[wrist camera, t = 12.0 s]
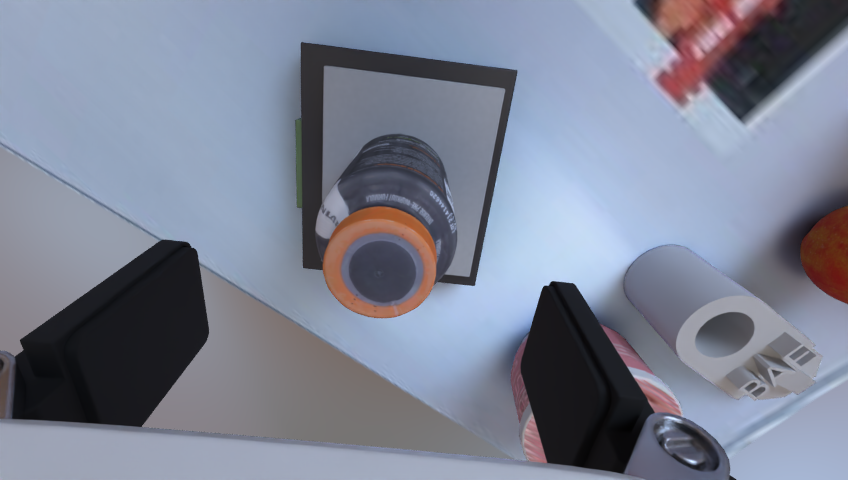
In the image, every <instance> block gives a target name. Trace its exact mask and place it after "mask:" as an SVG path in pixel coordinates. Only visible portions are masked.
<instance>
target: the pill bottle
mask: <svg viewBox="0 0 848 480" xmlns="http://www.w3.org/2000/svg"><path fill="white" fill-rule="evenodd" d="M315 237H316V244H317V248H318V252H319V255H320V257H321V259H322V261H323V274H324V277H325V281H326V284H327V286H328V288H329V290H330V291H331V293H332V294H333V295H334V297H335V298H336V299H337V300H338V301H339V302H340V303H341V304H342V305H344V306H345V307H346V308H348V309H350V310H351V311H353V312H356V313H358V314H361V315H364V316H368V317H374V318H392V317H397V316H400V315H403V314H405V313H407V312H409V311H411V310H413V309H415V308H416V307H418V306H419V305H420V304H421V303H422V302H423V301H424V300H425V299H426V298H427V296H428V295H429V293H430V292H431V290H432V287H433V286H434V285H435V284H436V283H437V282H438V281H439V280H440V279H441V278H442V277H443V275H444V274H445V273H446V271H447V270H448V268H449V267H450V265H451V263H452V260H453V258H454V255H455V251H456V247H457V226H456V220H455V214H454V205H453V200H452V196H451V193H450V188H449V185H448V179H447V174H446V171H445V168H444V165H443V162H442V161H441V159H440V157H439V156H438V154H437V153H436V152H435V151H434V150H433V149H432V148H431V147H430V146H429V145H428V144H427V143H425V142H424V141H422V140H420V139H418V138H416V137H414V136H410V135H406V134H401V133H400V134H387V135H383V136H380V137H377V138H374V139H372V140H371V141H369V142H368V143H366V144H365V145H364V146H363V147H362V148H361V149H360V150H359V151H358V153H357V154H356V155H355V157H354V158H353V160H352V161H351V162H350V164H349V165H348V167H347V168H346V169H345V171H344V172H343V173H342V175H341V176H340V178H339V179H338V180H337V182H336V183H335V185H334V186H333V188H332V189H331V191H330V192H329V194H328V195H327V197H326V198H325V200H324V202H323V203H322V205H321V208H320V210H319V213H318V217H317V221H316V228H315Z"/></svg>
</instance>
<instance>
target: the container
mask: <svg viewBox="0 0 848 480" xmlns="http://www.w3.org/2000/svg"><path fill="white" fill-rule="evenodd" d="M600 325H601V326H602V328H603V329H604V331H605V333H606V334H607V336H608V337H609V339H610V341H611V342H612V344H613V345H614V347H615V348H616V350H617V352H618V353H619V355H620V356H621V358H622V359H623V361H624V363H625V364H626V366H627V367H628V369H629V370H630V372H631V374H632V375H633V377H634V378H635V380H636V382H637V383H638V385H639V386H640V388H641V389H642V391H643V393H644V394H645V396H646V397H647V399H648V402H649V404H650V405H651V407H652V408H653V410H654V412H655V413H657V412H668V413H671V414H675V415H679V416H681V417H683V412H682V409H681V406H680V403H679V401H678V400H677V398H676V397H675V396H674V394H673V393H672V391H671V390H670V389H669V387H668V386H667V385H666V384H665V383H664V382H662V381H661V380H660V379H659V378H657V377H656V376H655V375H654V374H653V372H652V371H651V370H650V369H649V367H648V366H647V365H646V364H645V362H644V361H643V360H642V359H641V358H640V356H639V355H638V354H637V353H636V352H635V350H634V349H633V348H632V347H631V345H630V344H629V343H628V342H627V341H626V339H625V338H623V337H622V336H621V335H620V334H619V333H617V332H616V331H614V330H612V329H610V328H608V327H606V326H604V325H602V324H600ZM528 335H529V333H528V334H527V335H526V337H525V338H524V339H523V341H522V343H521V344H520V347H519V349H518V351H517V353H516V355H515V359H514V362H513V366H512V370H511V385H512V390H513V395H514V400H515V405H516V410H517V414H518V419H519V423H520V425H519V437H520V441H521V445H522V449H523V452H524V455H525V457H526V458H527V460H528V461H531V462H540V463H547V461H546V457H545V454H544V450H543V447H542V444H541V440H540V437H539V433H538V430H537V426H536V423H535V419H534V416H533V413H532V409H531V406H530V402H529V399H528V395H527V392H526V389H525V385H524V382H523V378H522V375H521V359H522V355H523V352H524V349H525V345H526V342H527V339H528Z"/></svg>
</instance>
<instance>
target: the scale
mask: <svg viewBox="0 0 848 480" xmlns="http://www.w3.org/2000/svg"><path fill="white" fill-rule="evenodd" d="M516 76H517V70H510V69H502V68H495V67H487V66H479V65H472V64H464V63H456V62H449V61H441V60H434V59H426V58H418V57H411V56H403V55H395V54H388V53H380V52H372V51H365V50H357V49H350V48H342V47H334V46H327V45H319V44H311V43H304V42H301V118H299V119H297V120H296V121H295V124H296V186H297V207H298V208H302V227H303V268H308V269H317V270H323V261H322V259H321V257H320V255H319V252H318V248H317V244H316V237H315V228H316V221H317V217H318V213H319V210H320V208H321V205H322V203H323V202H324V200H325V198H326V197H327V195H328V194H329V192H330V191H331V189H332V188H333V186H334V185H335V183H336V182H337V180H338V179H339V178H340V176H341V175H342V173H343V172H344V171H345V169H346V168H347V167H348V165H349V164H350V162H351V161H352V160H353V158H354V157H355V155H356V154H357V153H358V151H359V150H360V149H361V148H362V147H363V146H364V145H365V144H366V143H368V142H369V141H371V140H372V139H374V138H377V137H380V136H383V135H387V134H400V133H401V134H406V135H410V136H414V137H416V138H418V139H420V140H422V141H424V142H425V143H427V144H428V145H429V146H430V147H431V148H432V149H433V150H434V151H435V152H436V153H437V154H438V156H439V157H440V159H441V161H442V162H443V165H444V168H445V171H446V174H447V179H448V185H449V188H450V193H451V196H452V200H453V205H454V214H455V220H456V226H457V247H456V251H455V255H454V258H453V260H452V263H451V265H450V267H449V268H448V270H447V271H446V273H445V274H444V275H443V277H442V278H441V279H440V280H439V281H438V282H442V283H452V284H462V285H471V286H475V282H476V277H477V272H478V267H479V262H480V257H481V252H482V247H483V242H484V237H485V232H486V227H487V222H488V217H489V212H490V207H491V202H492V197H493V192H494V186H495V181H496V176H497V171H498V166H499V161H500V156H501V151H502V146H503V141H504V136H505V131H506V126H507V121H508V116H509V111H510V106H511V101H512V96H513V91H514V86H515V81H516Z"/></svg>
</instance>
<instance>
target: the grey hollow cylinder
mask: <svg viewBox="0 0 848 480" xmlns="http://www.w3.org/2000/svg"><path fill="white" fill-rule="evenodd" d="M624 290H625V293H626V296H627V297H628V299H629V300H630V301H631V302H632V304H633V305H634V306H635V307H636V308H637V309H638V311H639V312H640V313H641V314H642V315H643V316H644V318H645V319H646V320H647V321H648V322H649V323H650V325H651V326H652V327H653V328H654V329H655V330H656V331H657V333H658V334H659V335H660V336H661V337H662V338H663V340H664V341H665V342H666V343H667V344H668V345H669V347H670V348H671V349H672V350H673V351H674V352H675V354H676V355H677V356H678V357H679V358H680V359H681V360H682V362H683V363H685V364H686V365H687V366H689V367H690V368H691V369H693V370H694V371H696V372H697V373H698V374H700V375H701V376H703V377H704V378H706V379H707V380H708V381H710V382H711V383H713V384H714V385H715V386H717V387H718V388H720V389H721V390H723V391H724V392H725V393H727V394H728V395H730V396H731V397H732V398H734V399H737V400H739V399H740V398H741V397H743V396H744V395H747V396H749V397H750V398H752V399H753V400H754V401H755V400H757V399H758V400H764V399H773V398H782V397H786V396H787V395H789V394H790V393H792V392H793V393H795V394H797V395H798V394H800V393H801V392H803V391H804V390H806V389H807V388H809V387H810V386H812V385H813V384H815V383H816V382H815V381H814V380H813V378H814V377H816V374H817V371H818V368H819V366H820V363H821V360H822V357H823V356H822V355H820V354H819V353H818V352H817V351H816V350H814V349H813V347H814V346H816V345H815V344H814V343H813V342H812V341H811V340H810V339H808V338H807V337H806V336H805V335H803V334H802V333H801V332H800V331H799V330H797V329H796V328H795V327H794V326H793V325H791V324H790V323H789V322H788V321H787V320H785V319H784V318H783V317H782V316H780V315H779V314H778V313H777V312H776V311H774V310H773V309H772V308H771V307H770V306H768V305H767V304H766V303H765V302H763V301H762V300H760V299H759V298H758V297H756V296H755V295H753V294H752V293H751V292H749V291H748V290H746V289H745V288H743V287H742V286H741V285H739V284H738V283H736V282H735V281H734V280H732V279H731V278H729V277H728V276H726V275H725V274H724V273H722V272H721V271H719V270H718V269H717V268H715V267H714V266H712V265H711V264H709V263H708V262H707V261H705V260H704V259H702V258H701V257H699V256H698V255H697V254H695V253H694V252H692V251H691V250H689V249H688V248H686V247H683V246H678V245H664V246H660V247H656V248H654V249H651V250H649V251H647V252H646V253H644V254H643V255H641V256H640V257H639V258H637V259H636V260H635V261H634V263H633V264H632V265H631V266H630V268H629V270H628V271H627V274H626V276H625V280H624Z"/></svg>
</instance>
